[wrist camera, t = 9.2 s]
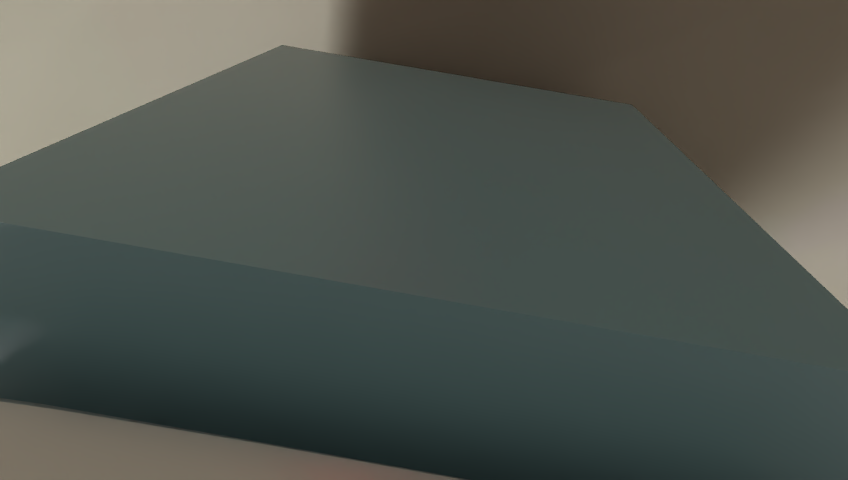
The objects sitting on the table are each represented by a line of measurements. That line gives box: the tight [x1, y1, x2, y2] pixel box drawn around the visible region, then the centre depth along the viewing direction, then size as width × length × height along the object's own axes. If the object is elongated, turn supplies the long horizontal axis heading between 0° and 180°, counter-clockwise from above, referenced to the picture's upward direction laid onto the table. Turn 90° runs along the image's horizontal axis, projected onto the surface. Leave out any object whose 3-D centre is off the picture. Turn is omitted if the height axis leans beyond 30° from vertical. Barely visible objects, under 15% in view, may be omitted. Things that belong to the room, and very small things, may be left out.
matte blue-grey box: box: [0, 45, 848, 480], centre depth 10 cm, size 8×8×9 cm
